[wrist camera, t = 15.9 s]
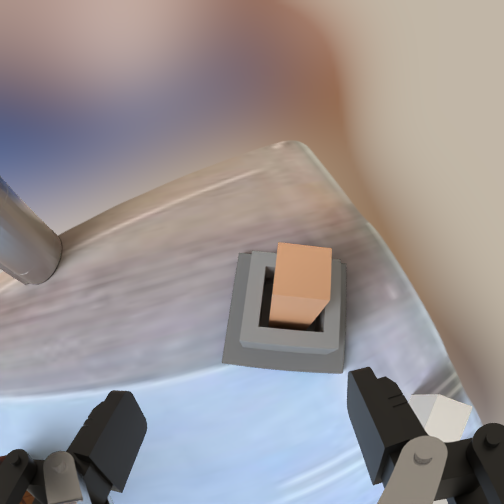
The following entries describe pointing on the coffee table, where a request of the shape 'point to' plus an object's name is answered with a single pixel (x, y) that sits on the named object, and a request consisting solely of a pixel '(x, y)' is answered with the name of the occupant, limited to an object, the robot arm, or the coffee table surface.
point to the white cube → (441, 415)
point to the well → (282, 340)
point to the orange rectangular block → (300, 285)
